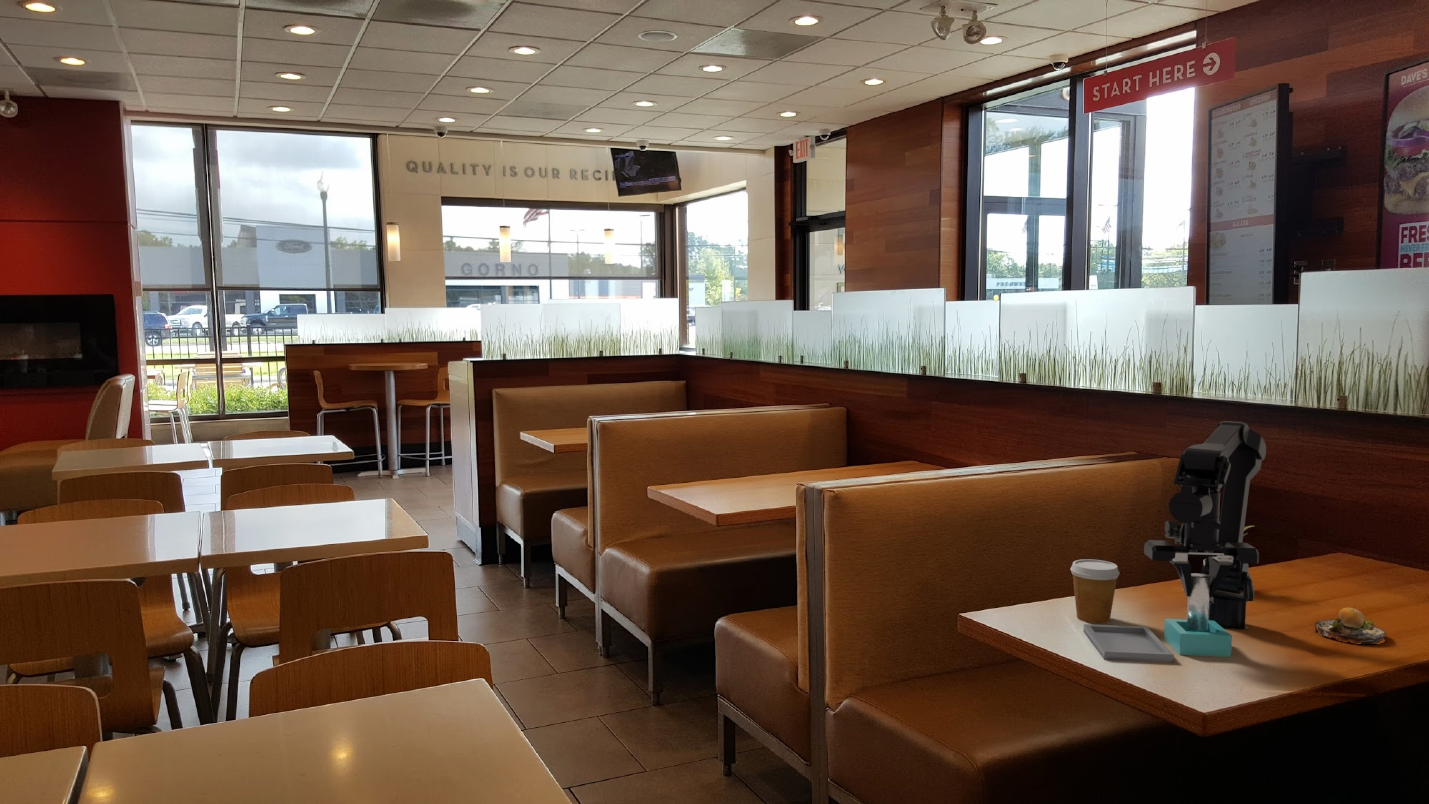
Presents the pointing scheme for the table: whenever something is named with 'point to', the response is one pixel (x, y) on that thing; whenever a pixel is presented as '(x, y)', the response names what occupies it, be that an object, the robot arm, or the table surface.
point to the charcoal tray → (1127, 643)
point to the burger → (1350, 628)
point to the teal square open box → (1197, 639)
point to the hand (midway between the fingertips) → (1198, 596)
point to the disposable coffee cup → (1094, 589)
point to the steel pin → (1198, 602)
